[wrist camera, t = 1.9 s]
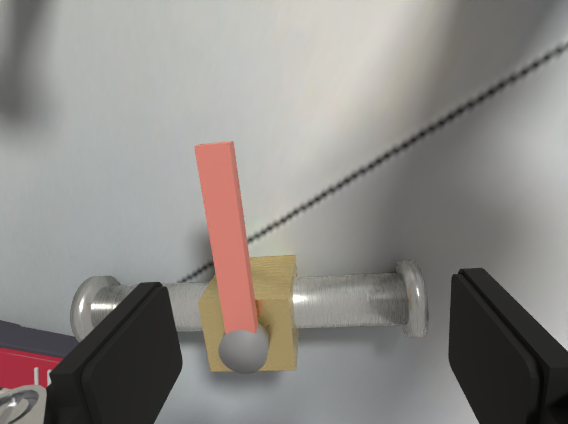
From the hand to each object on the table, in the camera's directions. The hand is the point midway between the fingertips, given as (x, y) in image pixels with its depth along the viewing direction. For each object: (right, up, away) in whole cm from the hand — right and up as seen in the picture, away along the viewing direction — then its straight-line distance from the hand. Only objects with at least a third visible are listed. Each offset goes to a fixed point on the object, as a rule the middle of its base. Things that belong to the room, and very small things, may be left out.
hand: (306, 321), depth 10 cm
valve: (-3, -4, +25) cm, 25 cm away
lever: (-4, 0, +15) cm, 15 cm away
